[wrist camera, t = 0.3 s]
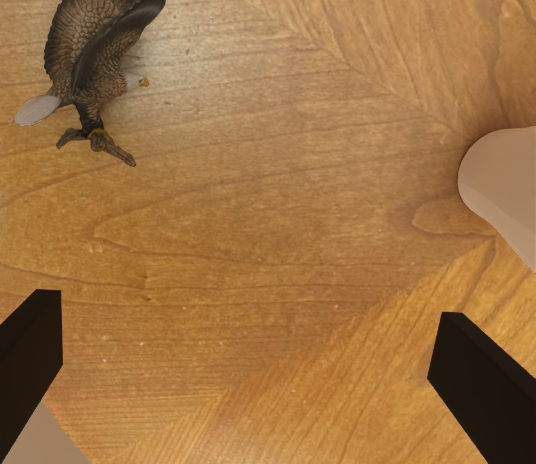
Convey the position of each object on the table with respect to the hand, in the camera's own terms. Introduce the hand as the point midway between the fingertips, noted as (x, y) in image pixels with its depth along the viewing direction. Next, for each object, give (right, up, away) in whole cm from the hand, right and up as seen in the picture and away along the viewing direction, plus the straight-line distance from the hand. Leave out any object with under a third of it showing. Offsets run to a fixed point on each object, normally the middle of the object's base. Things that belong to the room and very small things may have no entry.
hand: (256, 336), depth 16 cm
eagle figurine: (-9, +13, +11) cm, 20 cm away
